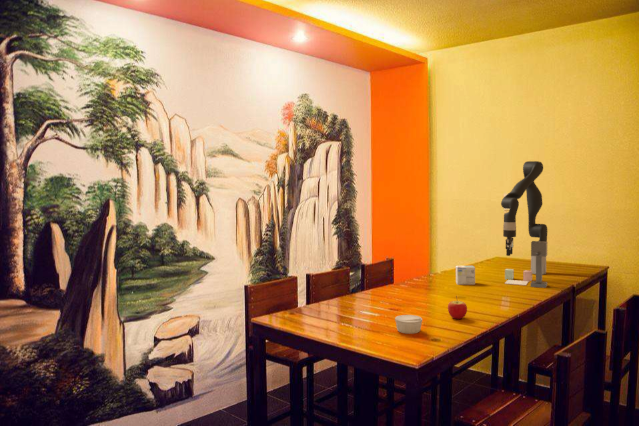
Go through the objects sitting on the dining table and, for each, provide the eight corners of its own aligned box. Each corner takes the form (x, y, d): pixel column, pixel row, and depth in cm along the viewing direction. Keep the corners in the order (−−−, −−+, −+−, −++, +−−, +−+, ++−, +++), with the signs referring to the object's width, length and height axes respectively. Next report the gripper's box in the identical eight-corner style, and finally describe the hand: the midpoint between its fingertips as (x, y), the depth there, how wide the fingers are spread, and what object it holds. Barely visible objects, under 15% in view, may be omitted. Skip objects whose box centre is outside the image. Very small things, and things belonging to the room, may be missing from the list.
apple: (463, 315, 231) (463, 294, 230) (469, 320, 222) (469, 298, 222) (445, 316, 230) (445, 294, 230) (451, 321, 222) (451, 298, 221)
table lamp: (532, 284, 300) (532, 240, 298) (547, 285, 296) (547, 241, 294) (530, 287, 291) (530, 242, 290) (545, 288, 287) (545, 243, 286)
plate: (507, 280, 313) (507, 279, 313) (528, 281, 307) (528, 281, 307) (504, 283, 303) (504, 283, 303) (525, 285, 297) (525, 284, 297)
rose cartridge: (524, 279, 314) (524, 270, 314) (532, 280, 312) (532, 270, 312) (523, 281, 310) (523, 271, 310) (531, 281, 308) (531, 271, 308)
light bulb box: (473, 282, 307) (473, 265, 307) (475, 284, 301) (475, 267, 300) (455, 282, 308) (455, 265, 308) (457, 284, 302) (457, 267, 301)
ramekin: (413, 336, 201) (413, 323, 200) (389, 331, 208) (389, 318, 208) (427, 330, 209) (427, 317, 209) (404, 325, 216) (404, 313, 216)
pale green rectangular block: (506, 278, 320) (506, 268, 320) (513, 278, 318) (513, 269, 318) (504, 279, 317) (504, 269, 316) (512, 279, 314) (512, 270, 314)
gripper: (514, 230, 308) (513, 256, 308) (517, 228, 320) (517, 253, 321) (501, 230, 311) (501, 255, 312) (505, 228, 324) (505, 253, 325)
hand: (509, 254), depth 317 cm, fingers open, 8 cm apart
